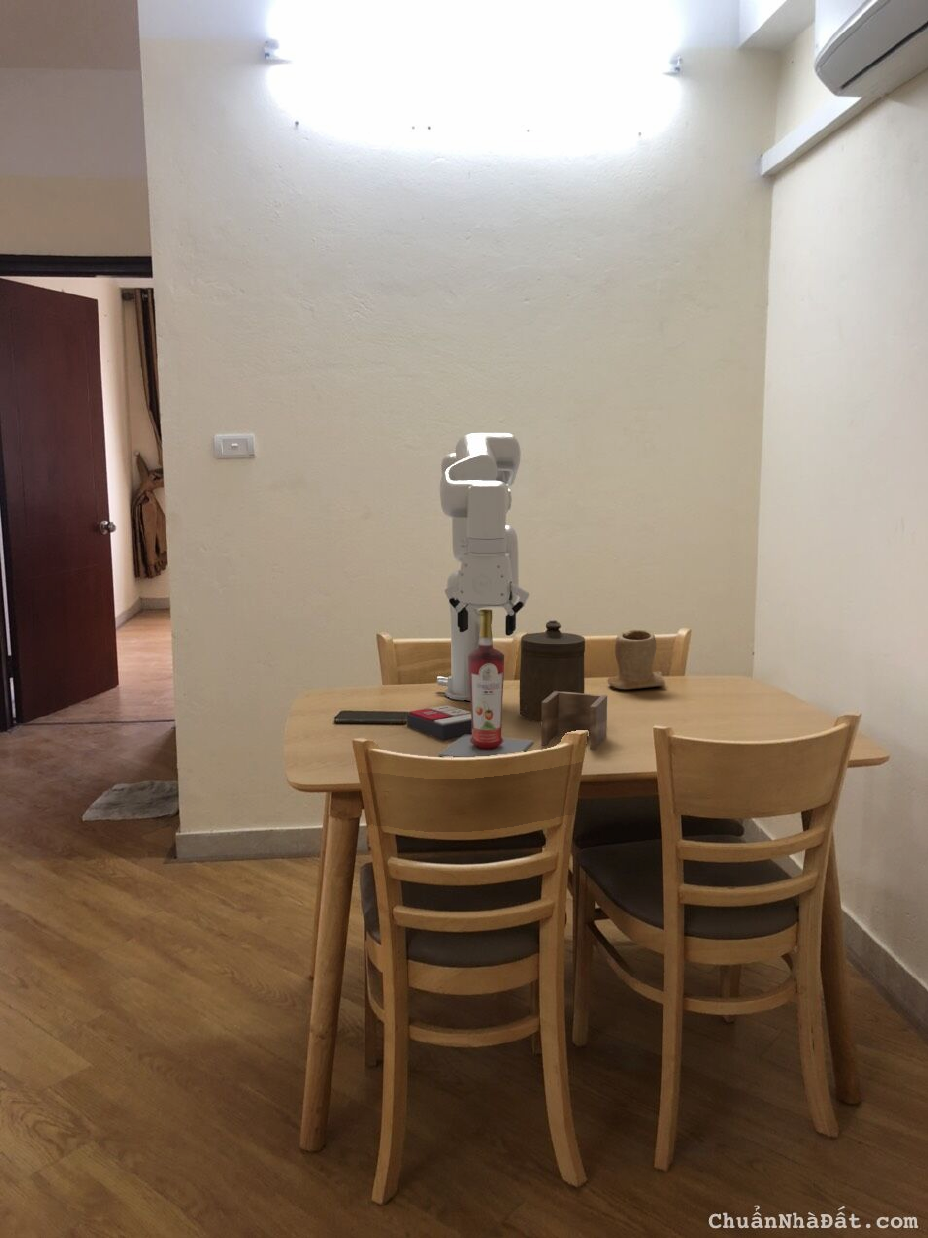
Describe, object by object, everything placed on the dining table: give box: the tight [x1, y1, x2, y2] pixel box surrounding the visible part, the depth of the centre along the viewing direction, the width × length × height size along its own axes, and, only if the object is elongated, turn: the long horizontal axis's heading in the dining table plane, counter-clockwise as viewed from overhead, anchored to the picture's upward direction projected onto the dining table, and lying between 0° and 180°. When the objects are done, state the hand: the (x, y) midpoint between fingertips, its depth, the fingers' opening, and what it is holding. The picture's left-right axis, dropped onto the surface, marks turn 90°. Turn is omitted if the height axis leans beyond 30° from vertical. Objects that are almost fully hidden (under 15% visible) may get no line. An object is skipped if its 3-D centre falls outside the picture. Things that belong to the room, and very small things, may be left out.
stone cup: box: [606, 629, 666, 690], centre depth 246 cm, size 15×12×15 cm
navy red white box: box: [406, 704, 472, 742], centre depth 210 cm, size 11×4×15 cm
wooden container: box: [519, 619, 586, 723], centre depth 220 cm, size 15×15×22 cm
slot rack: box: [540, 691, 608, 751], centre depth 201 cm, size 11×10×9 cm
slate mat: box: [438, 734, 534, 757], centre depth 195 cm, size 15×15×1 cm
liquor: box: [468, 608, 505, 750], centre depth 193 cm, size 7×7×28 cm
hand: (486, 632), depth 191 cm, fingers open, 9 cm apart
